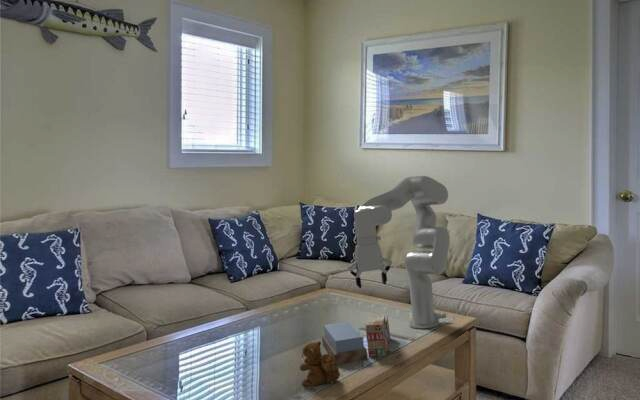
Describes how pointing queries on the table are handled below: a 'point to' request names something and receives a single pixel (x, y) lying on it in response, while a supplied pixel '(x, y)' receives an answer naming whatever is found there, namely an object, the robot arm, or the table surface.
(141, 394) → the table surface
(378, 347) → the stack of blocks
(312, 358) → the stuffed squirrel
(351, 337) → the slate-blue tower block
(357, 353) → the walnut tower block
